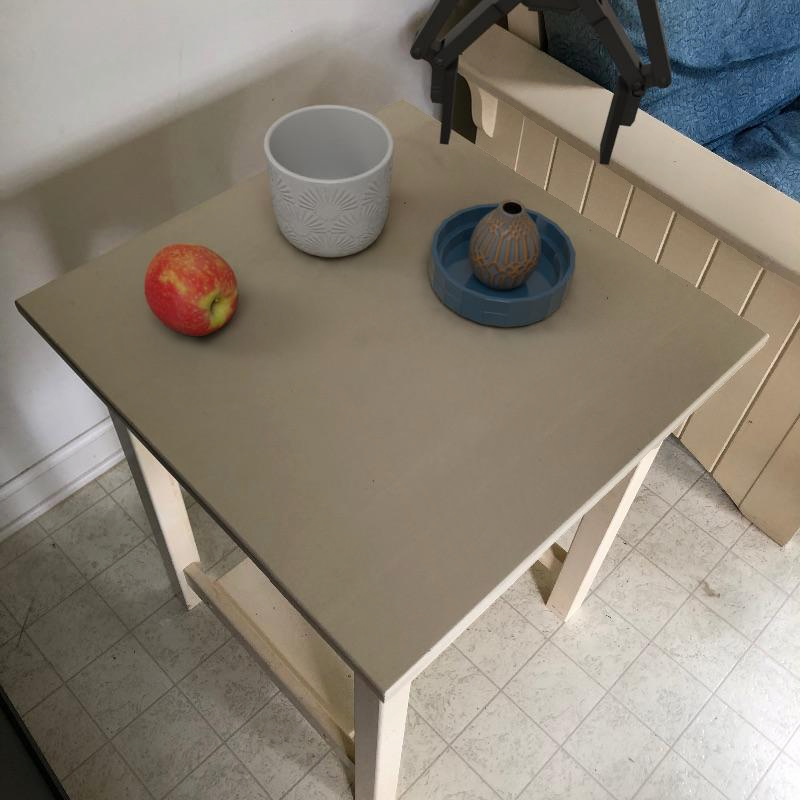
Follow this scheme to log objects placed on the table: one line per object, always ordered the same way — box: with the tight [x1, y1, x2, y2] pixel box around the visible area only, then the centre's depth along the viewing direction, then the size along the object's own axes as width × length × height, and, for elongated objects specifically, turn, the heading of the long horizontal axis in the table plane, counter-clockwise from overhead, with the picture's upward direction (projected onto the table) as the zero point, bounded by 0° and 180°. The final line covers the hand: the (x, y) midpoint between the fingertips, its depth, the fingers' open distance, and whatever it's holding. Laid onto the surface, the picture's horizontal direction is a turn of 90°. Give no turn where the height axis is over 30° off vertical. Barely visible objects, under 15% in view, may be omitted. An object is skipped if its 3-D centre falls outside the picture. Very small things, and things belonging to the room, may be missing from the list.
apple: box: [143, 242, 239, 337], centre depth 76 cm, size 8×8×8 cm
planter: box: [263, 104, 395, 258], centre depth 83 cm, size 12×12×11 cm
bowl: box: [428, 202, 577, 328], centre depth 82 cm, size 14×14×4 cm
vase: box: [469, 198, 541, 290], centre depth 80 cm, size 7×7×9 cm
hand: (524, 145), depth 71 cm, fingers open, 13 cm apart
